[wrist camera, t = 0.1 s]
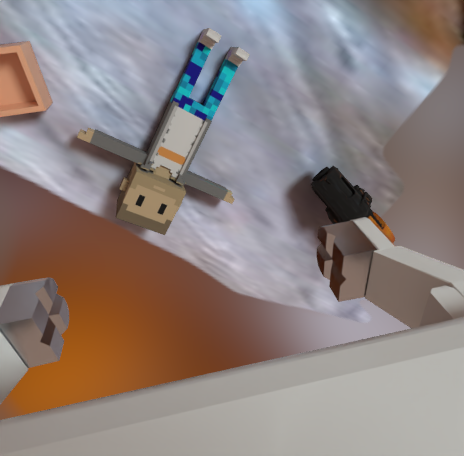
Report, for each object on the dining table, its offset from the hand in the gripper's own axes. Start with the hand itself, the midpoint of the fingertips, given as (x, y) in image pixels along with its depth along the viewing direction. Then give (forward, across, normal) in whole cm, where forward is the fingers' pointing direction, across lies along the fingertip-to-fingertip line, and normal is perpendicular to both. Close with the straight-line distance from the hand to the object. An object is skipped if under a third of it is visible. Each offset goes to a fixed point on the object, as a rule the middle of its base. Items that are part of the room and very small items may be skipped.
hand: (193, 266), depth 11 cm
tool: (+48, -30, +32) cm, 65 cm away
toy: (+48, 0, +12) cm, 50 cm away
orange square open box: (+48, +21, +1) cm, 52 cm away
